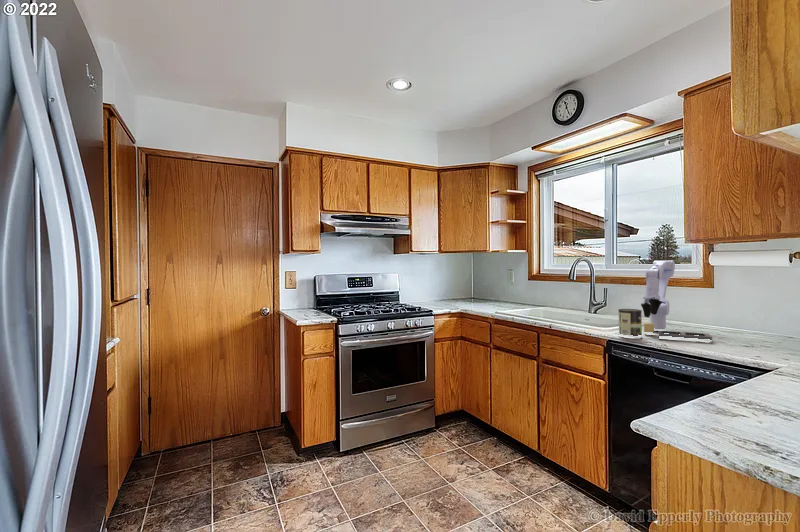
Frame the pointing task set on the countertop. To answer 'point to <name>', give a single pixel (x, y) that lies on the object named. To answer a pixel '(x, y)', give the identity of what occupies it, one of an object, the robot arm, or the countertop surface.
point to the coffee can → (630, 322)
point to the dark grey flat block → (685, 334)
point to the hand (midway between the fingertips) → (650, 315)
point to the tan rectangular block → (648, 327)
